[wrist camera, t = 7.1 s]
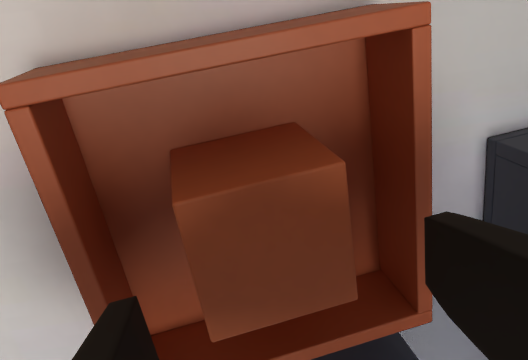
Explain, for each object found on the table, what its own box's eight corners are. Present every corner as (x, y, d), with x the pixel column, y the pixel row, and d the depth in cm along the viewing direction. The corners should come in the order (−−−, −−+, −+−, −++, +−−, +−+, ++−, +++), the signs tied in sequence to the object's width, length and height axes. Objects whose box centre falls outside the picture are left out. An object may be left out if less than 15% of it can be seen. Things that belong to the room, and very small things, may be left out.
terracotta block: (310, 230, 16) (359, 300, 12) (198, 259, 16) (211, 344, 12) (295, 120, 15) (346, 161, 11) (168, 149, 14) (171, 204, 10)
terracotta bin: (387, 270, 19) (433, 322, 16) (137, 342, 17) (132, 416, 14) (372, 4, 14) (432, 0, 11) (34, 68, 13) (-9, 86, 10)
